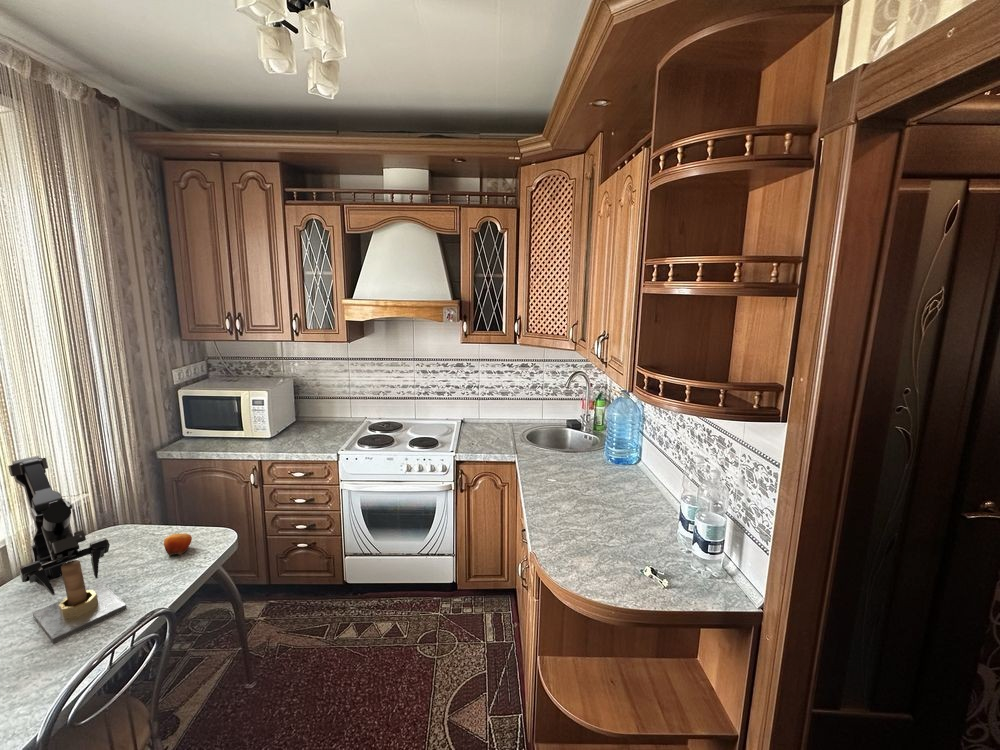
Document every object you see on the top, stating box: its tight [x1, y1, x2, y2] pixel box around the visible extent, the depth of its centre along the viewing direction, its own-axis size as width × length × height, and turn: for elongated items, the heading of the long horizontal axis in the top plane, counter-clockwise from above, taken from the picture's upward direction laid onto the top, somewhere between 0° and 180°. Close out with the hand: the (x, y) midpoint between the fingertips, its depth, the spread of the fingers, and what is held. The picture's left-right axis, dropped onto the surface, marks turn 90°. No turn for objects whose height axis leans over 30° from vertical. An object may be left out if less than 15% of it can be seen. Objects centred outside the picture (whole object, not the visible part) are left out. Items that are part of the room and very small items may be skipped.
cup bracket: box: [32, 582, 127, 645], centre depth 135 cm, size 18×16×4 cm
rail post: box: [61, 559, 88, 606], centre depth 134 cm, size 4×4×14 cm
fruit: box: [163, 532, 193, 557], centre depth 165 cm, size 8×8×8 cm
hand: (75, 586), depth 133 cm, fingers open, 9 cm apart
